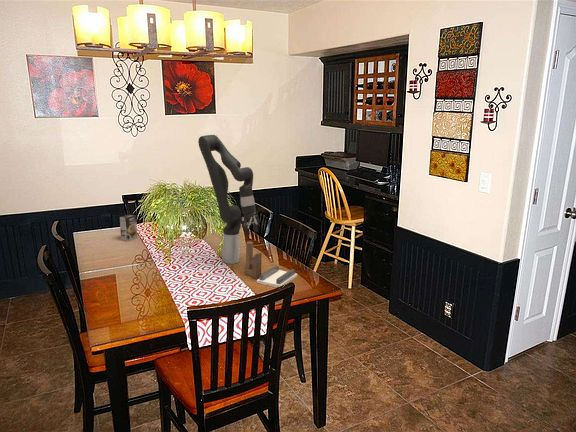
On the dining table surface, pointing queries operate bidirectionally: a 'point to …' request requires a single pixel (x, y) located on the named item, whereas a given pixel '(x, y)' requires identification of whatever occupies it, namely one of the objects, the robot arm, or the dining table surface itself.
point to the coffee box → (128, 227)
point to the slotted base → (276, 277)
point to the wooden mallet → (252, 262)
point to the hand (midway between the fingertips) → (252, 233)
